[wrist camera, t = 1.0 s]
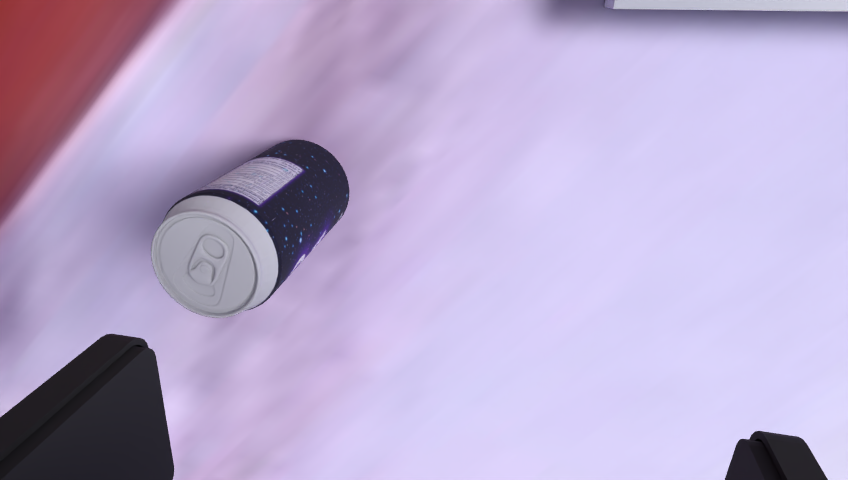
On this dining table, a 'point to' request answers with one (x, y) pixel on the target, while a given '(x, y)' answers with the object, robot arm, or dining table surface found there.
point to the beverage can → (249, 229)
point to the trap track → (731, 5)
